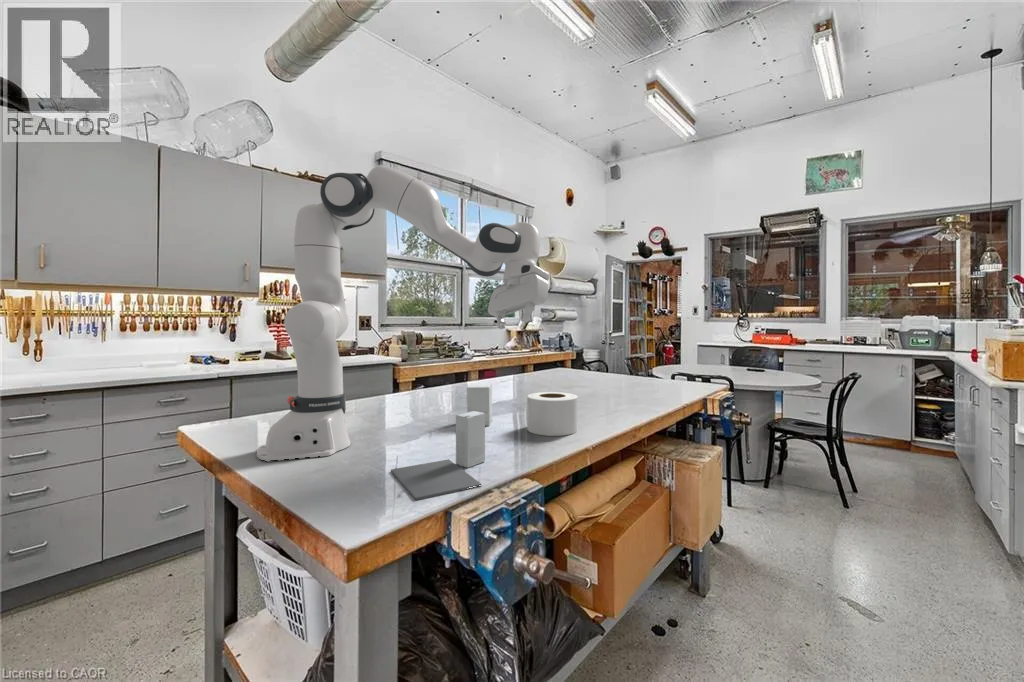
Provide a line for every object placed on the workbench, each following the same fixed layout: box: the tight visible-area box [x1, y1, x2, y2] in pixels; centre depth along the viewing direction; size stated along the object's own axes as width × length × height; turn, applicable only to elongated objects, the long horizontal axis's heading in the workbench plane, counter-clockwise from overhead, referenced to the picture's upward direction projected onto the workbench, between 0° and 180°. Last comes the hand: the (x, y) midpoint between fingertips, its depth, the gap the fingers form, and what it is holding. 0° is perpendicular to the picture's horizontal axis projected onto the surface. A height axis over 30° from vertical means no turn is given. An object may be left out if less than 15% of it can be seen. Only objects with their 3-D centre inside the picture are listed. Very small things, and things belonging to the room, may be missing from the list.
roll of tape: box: [526, 391, 578, 437], centre depth 137 cm, size 16×15×11 cm
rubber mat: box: [390, 458, 482, 501], centre depth 97 cm, size 14×18×1 cm
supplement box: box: [466, 383, 493, 427], centre depth 145 cm, size 7×7×13 cm
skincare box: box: [455, 411, 486, 468], centre depth 106 cm, size 6×4×12 cm
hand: (512, 324), depth 117 cm, fingers open, 8 cm apart
